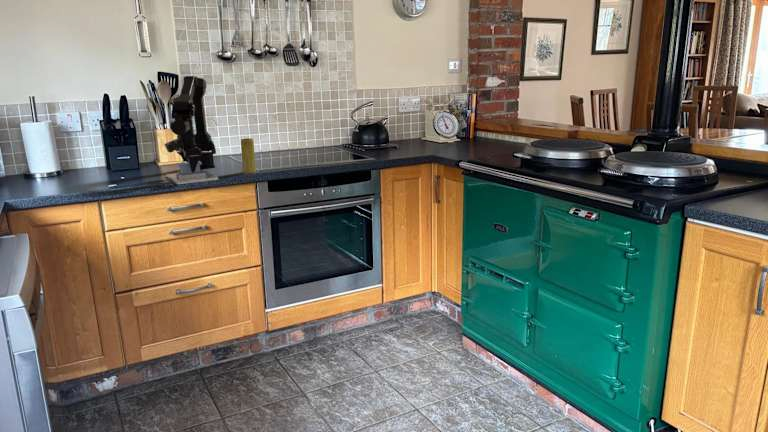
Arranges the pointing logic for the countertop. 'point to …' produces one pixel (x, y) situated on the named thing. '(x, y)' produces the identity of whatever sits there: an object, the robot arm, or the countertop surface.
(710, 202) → the countertop surface
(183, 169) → the block
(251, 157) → the vase
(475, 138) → the countertop surface
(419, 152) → the countertop surface
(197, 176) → the chassis plate
